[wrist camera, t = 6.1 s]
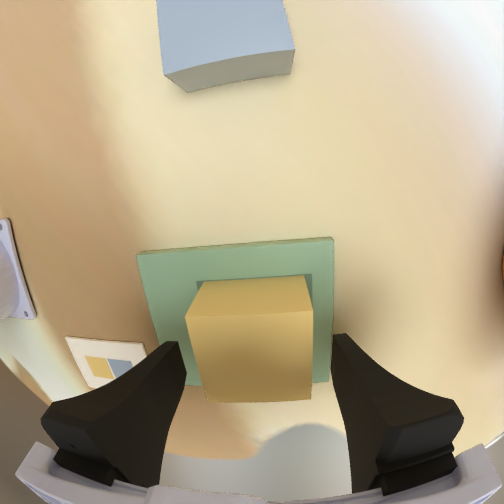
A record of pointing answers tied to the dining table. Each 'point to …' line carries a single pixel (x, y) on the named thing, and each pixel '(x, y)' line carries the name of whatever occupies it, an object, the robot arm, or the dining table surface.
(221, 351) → the brick
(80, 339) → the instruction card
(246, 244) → the plate
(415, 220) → the dining table surface
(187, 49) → the brick
